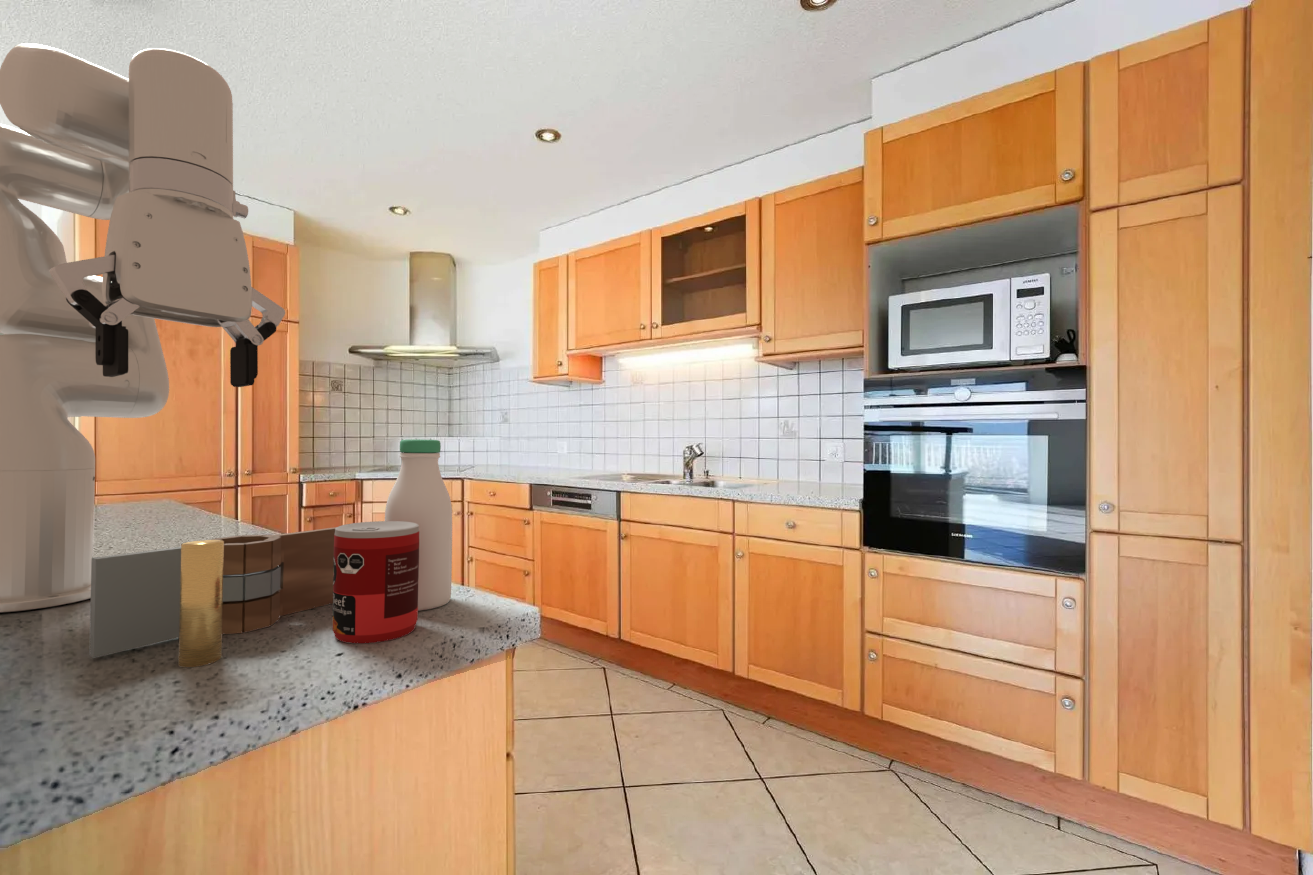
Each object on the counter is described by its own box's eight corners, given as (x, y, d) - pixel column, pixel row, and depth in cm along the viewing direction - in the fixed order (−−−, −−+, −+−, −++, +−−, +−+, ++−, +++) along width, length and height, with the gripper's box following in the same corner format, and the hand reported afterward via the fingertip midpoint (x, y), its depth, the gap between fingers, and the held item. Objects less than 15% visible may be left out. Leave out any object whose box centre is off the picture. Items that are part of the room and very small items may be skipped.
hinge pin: (172, 662, 51) (174, 543, 51) (211, 652, 54) (213, 538, 54) (188, 669, 49) (190, 547, 50) (228, 658, 52) (230, 542, 52)
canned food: (335, 625, 62) (337, 522, 62) (415, 617, 65) (417, 519, 65) (328, 649, 55) (330, 533, 55) (419, 638, 58) (421, 529, 58)
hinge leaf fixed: (191, 627, 60) (193, 540, 60) (338, 593, 74) (339, 523, 74) (222, 638, 57) (224, 547, 57) (369, 601, 71) (370, 527, 71)
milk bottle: (462, 604, 70) (465, 440, 70) (396, 617, 65) (400, 439, 65) (435, 592, 76) (438, 439, 76) (372, 602, 70) (376, 438, 70)
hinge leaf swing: (77, 649, 53) (80, 554, 53) (258, 609, 66) (259, 532, 66) (106, 664, 50) (108, 562, 50) (289, 618, 63) (291, 538, 63)
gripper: (262, 235, 63) (263, 392, 63) (36, 169, 48) (35, 374, 47) (301, 220, 59) (303, 386, 59) (70, 143, 44) (69, 365, 44)
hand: (183, 381), depth 53 cm, fingers open, 9 cm apart
